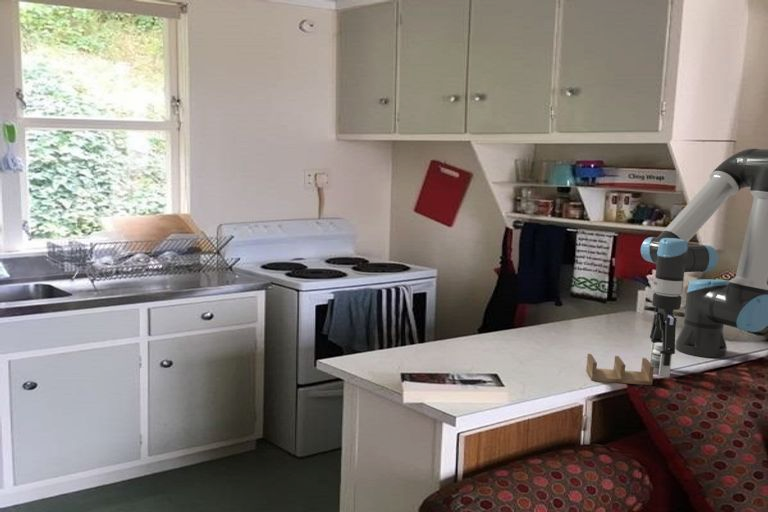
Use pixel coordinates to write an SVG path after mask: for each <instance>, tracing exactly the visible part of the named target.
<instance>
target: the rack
mask: <svg viewBox="0 0 768 512" xmlns="http://www.w3.org/2000/svg"><path fill="white" fill-rule="evenodd" d="M613 363H614V364H613V369H611V368H610V369H609V368H597V367H598V362H597V361H596V359H595V357H594V356H593V354H591V353H587V357H586V369H585V371H586V373H587V375H588V377H589V379H590V381H592V382H593V381H594V382H603V383H619V384H628V385H629V384H631V385H645V386H653V382H654V381H653V380H654V373H653V372H654V367H653V365H652V364H651V363H650V360H648V359H647V358H646V357H642V358H641V368H640V371H635V370H626V363H624V361H623V359H622V358H621V357H620V356H619V355H615V356H614V362H613Z"/></svg>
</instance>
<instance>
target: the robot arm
mask: <svg viewBox="0 0 768 512" xmlns="http://www.w3.org/2000/svg"><path fill="white" fill-rule="evenodd" d="M745 188H750V189H749V193H750V194H751V196H752V198H753V201H752V205H751V209H750V214H749V218H748V222H747V227H746V231H745V236H744V239H743V245H742V247H741V248H742V249H741V252H740V257H739V261H738V265H737V269H736V270H737V271H736V273H735V277H733V278H732V279H730V280H729V281H728V280H726V279H708V278H705V279H704V278H703V279H702V278H701V279H699V278H698V279H693V280H691V281H690V282H688V286H687V291H686V298H685V309H684V319H683V325H682V327H681V330H680V332H679V334H678V336H677V338H676V326H677V321H678V320H677V317H675V316H674V312H673V311H675V310H676V311H677V310H680V309H681V304H682V296H681V295H682V294H683V290H684V282H685V281H684V280H685V273H699V272H700V273H705V272H711V271H712V270H714V269H715V268H716V267H717V265H718V261H719V254H718V252H717V250H716V248H714V247H713V246H712V245H706V244H700V245H698V244H692V243H689V241H690V240H691V239H692V238H693V237H694V236H695V235H696V234H697V233H698V232H699V230H700V229H701V228H702V227H703V226H704V225H705V224H706V223H707V222H708V221H709V219H710V218H712V216H713V215H714V214H715V213H716V212H717V211H718V210H719V208H720V207H721V206H722V205H723V204H724V203H725V202H726V201H727V199H729V197H730V196H735V195H736V194H738V193H739V191H741V190H742V189H745ZM640 254H641V257H642V258H643V260H645V261H647V262H649V263H653V264H654V265H656V267H655V275H654V276H655V277H654V280H653V281H652V284H653V286H654V287H653V291H654V292H653V294H652V303H651V304H652V306H653V307H654V314H653V319H652V320H653V321H652V325H651V329H650V330H651V331H650V336H649V339H650V340H651V341H650V342H651V344H650V345H651V347H650V355H649V356H650V357H649V358H650V359H649V362H650V363H651V360H652V351H653V350H654V344H655V343H662V348H663V351H660V354H661V359H660V368H659V375H658V377H666V378H670V375H671V374H670V373H671V368H672V367H671V366H672V355H675V354H676V351H679V352H681V353H684V354H688V355H690V356H696V357H705V358H723V357H725V355H726V356H727V351H728V345H727V341H726V337H725V333H724V326H727V327H730V328H731V327H732V328H735V329H737V330H740V331H744V332H745V331H747V332H750V333H757V332H760V331H762V330H764V329H766V327H767V326H768V149H765V148H763V149H761V148H747V149H744V150H741V151H738V152H736V153H734V154H733V155H730V156H729V157H728V158H727V159H725V160H724V161H722V162H721V163H720V164H719V165H718V166H717V167H716V168H715V169H713V171H712V172H711V173H710V174H709V180H708V181H707V182H706V183H705V184H704V186H702V188H701V189H700V190H699V191H698V192H697V193H696V194H695V195H694V197H693V198H692V199H691V200H690V201H689V202H688V203H687V204H686V205H685V206H684V208H682V210H681V211H680V212H679V213H678V214H676V217H674V218H673V220H672V221H671V222H670V223H668V225H667V226H666V227H665V228H664V230H663V231H662V232H661V233H660V234H659V235H658V236H650V237H647V238H645V239H644V240H643V241H642V244H641V246H640Z"/></svg>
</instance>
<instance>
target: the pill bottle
mask: <svg viewBox="0 0 768 512" xmlns="http://www.w3.org/2000/svg"><path fill="white" fill-rule="evenodd" d="M660 351H663V348H662V343H655V344H654V350H653V351H652V360H651V364H652V365H653V367H654V372H653V375H657V376H659V368H660V359H661V354H660Z"/></svg>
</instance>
